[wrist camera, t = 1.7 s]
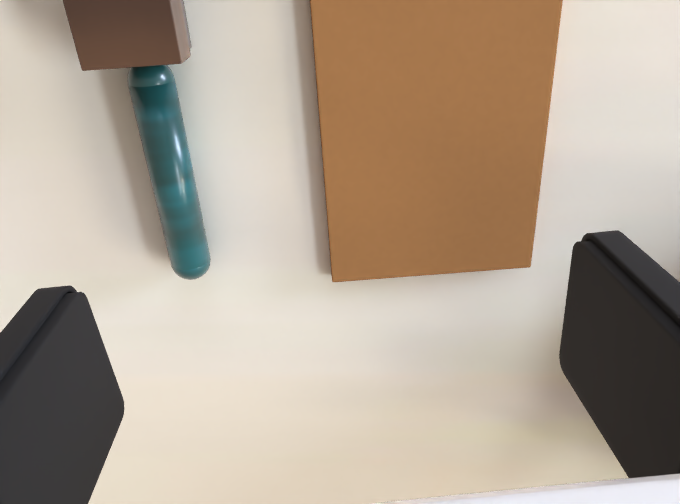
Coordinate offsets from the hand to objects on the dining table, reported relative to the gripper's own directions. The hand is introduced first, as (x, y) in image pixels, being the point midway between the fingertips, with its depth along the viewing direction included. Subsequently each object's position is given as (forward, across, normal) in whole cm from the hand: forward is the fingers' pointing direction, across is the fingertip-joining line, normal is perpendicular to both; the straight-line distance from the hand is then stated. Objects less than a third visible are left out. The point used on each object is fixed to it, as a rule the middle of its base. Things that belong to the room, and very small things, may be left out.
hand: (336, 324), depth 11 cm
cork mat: (+20, -6, +1) cm, 21 cm away
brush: (+20, +8, 0) cm, 22 cm away
